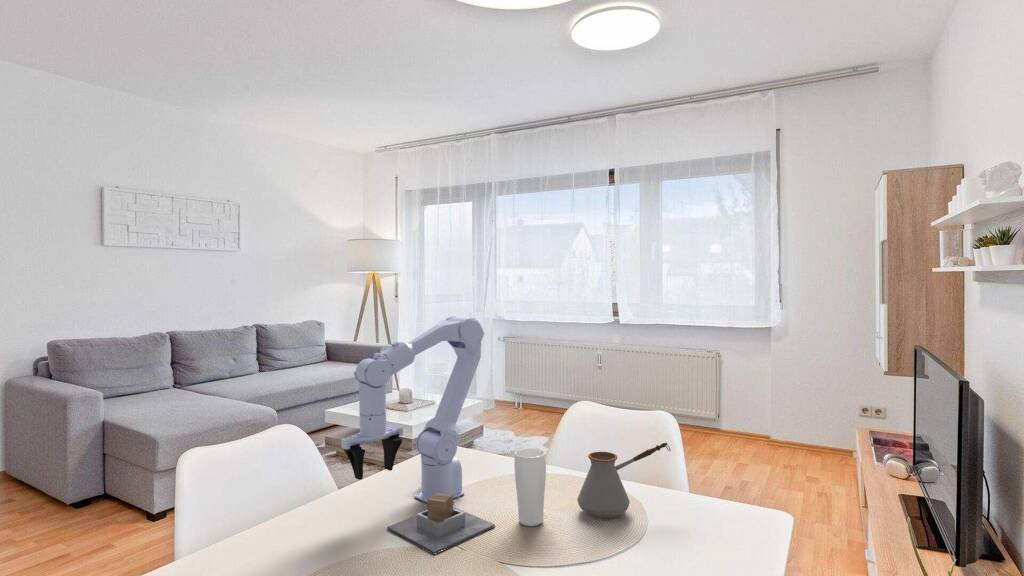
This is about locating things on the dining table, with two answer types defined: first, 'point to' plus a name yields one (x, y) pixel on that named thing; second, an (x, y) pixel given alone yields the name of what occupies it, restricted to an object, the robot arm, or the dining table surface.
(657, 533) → the dining table surface
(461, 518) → the grey square socket base
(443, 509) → the rail end post
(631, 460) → the coffee pot
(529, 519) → the drinking glass
